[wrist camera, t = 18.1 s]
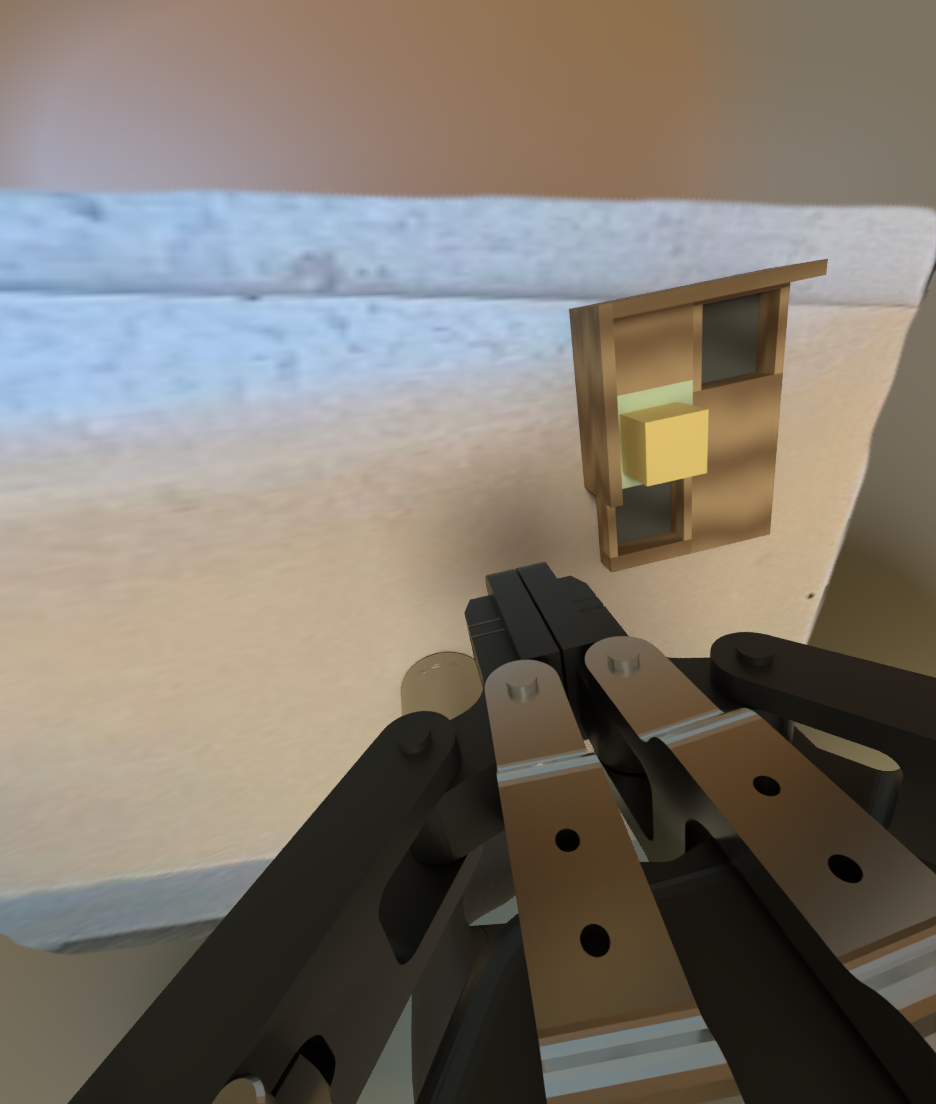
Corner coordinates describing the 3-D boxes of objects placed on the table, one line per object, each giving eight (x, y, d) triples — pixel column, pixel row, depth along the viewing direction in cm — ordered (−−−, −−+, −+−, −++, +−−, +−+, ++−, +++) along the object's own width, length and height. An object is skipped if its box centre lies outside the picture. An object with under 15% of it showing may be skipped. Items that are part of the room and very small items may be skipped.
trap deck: (752, 525, 51) (796, 548, 45) (591, 563, 50) (616, 592, 44) (768, 268, 41) (827, 258, 36) (569, 309, 40) (598, 305, 35)
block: (676, 459, 44) (707, 473, 40) (622, 472, 44) (646, 486, 39) (676, 401, 42) (708, 409, 38) (619, 413, 41) (645, 422, 37)
